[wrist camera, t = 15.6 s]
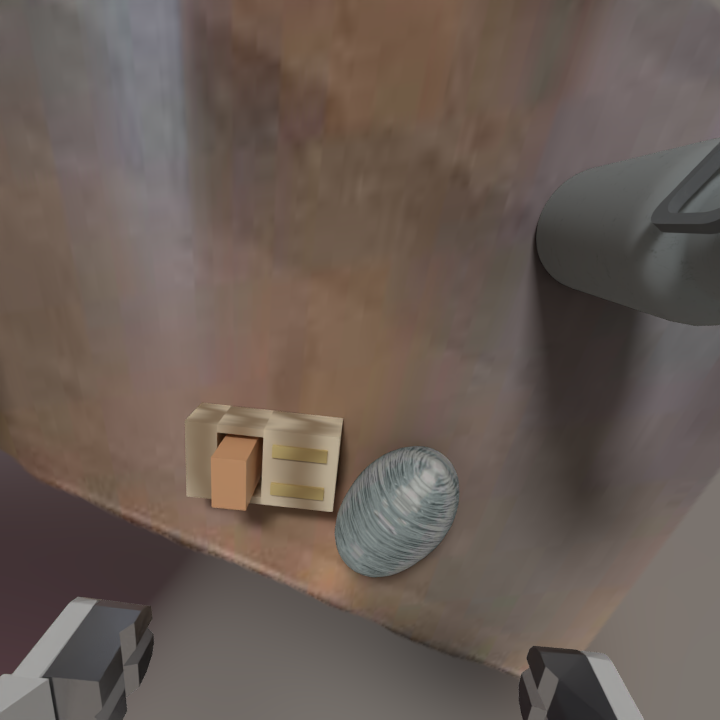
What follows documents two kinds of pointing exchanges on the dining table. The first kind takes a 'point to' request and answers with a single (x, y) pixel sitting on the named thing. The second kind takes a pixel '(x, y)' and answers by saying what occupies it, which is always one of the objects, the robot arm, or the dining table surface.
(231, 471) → the orange rectangular block
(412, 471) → the spool
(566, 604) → the dining table surface
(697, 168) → the water bottle
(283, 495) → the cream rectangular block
